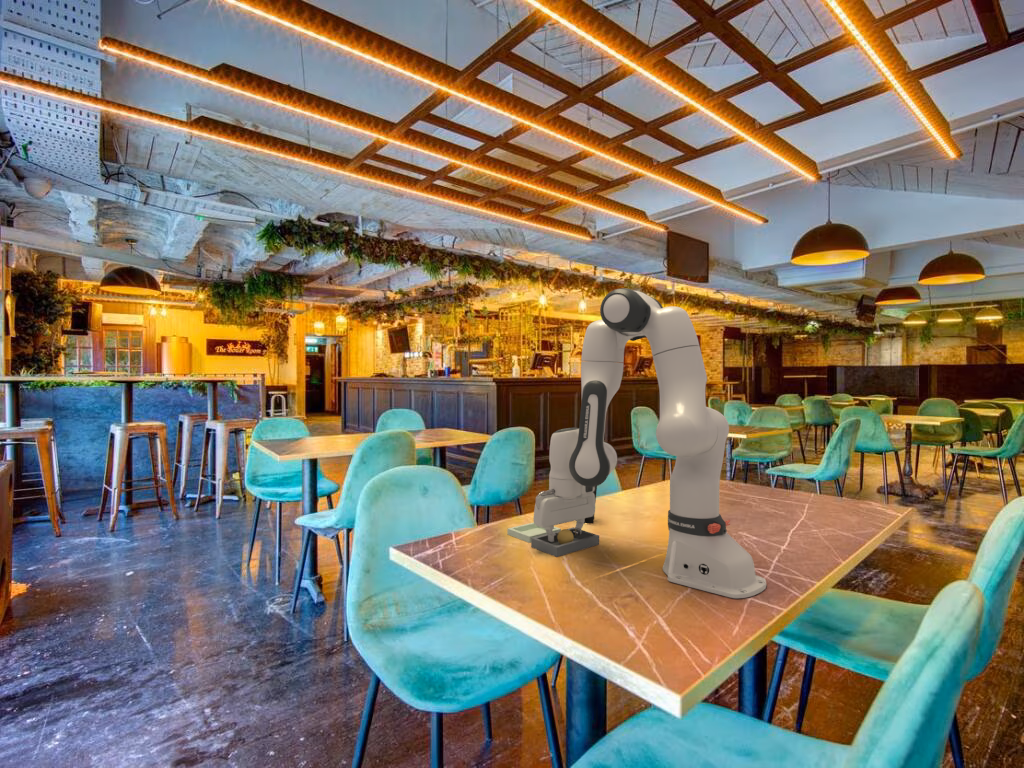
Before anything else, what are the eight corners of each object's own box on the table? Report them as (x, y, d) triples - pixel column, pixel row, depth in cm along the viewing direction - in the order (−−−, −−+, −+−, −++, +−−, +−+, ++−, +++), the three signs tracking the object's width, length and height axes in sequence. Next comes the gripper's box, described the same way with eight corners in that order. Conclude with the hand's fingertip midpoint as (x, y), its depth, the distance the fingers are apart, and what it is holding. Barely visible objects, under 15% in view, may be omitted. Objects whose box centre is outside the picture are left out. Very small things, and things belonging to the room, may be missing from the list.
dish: (599, 546, 141) (599, 535, 140) (556, 559, 131) (556, 547, 131) (573, 537, 148) (573, 527, 148) (531, 549, 138) (531, 538, 138)
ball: (577, 545, 139) (577, 529, 139) (565, 549, 136) (565, 532, 136) (565, 542, 143) (565, 526, 143) (554, 545, 140) (554, 529, 140)
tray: (561, 536, 149) (561, 528, 149) (529, 544, 142) (529, 536, 142) (538, 528, 157) (538, 521, 157) (507, 536, 150) (507, 528, 150)
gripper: (544, 494, 131) (544, 548, 131) (599, 484, 143) (598, 533, 144) (528, 490, 136) (528, 542, 136) (582, 480, 148) (582, 528, 149)
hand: (565, 537), depth 140 cm, fingers open, 8 cm apart
